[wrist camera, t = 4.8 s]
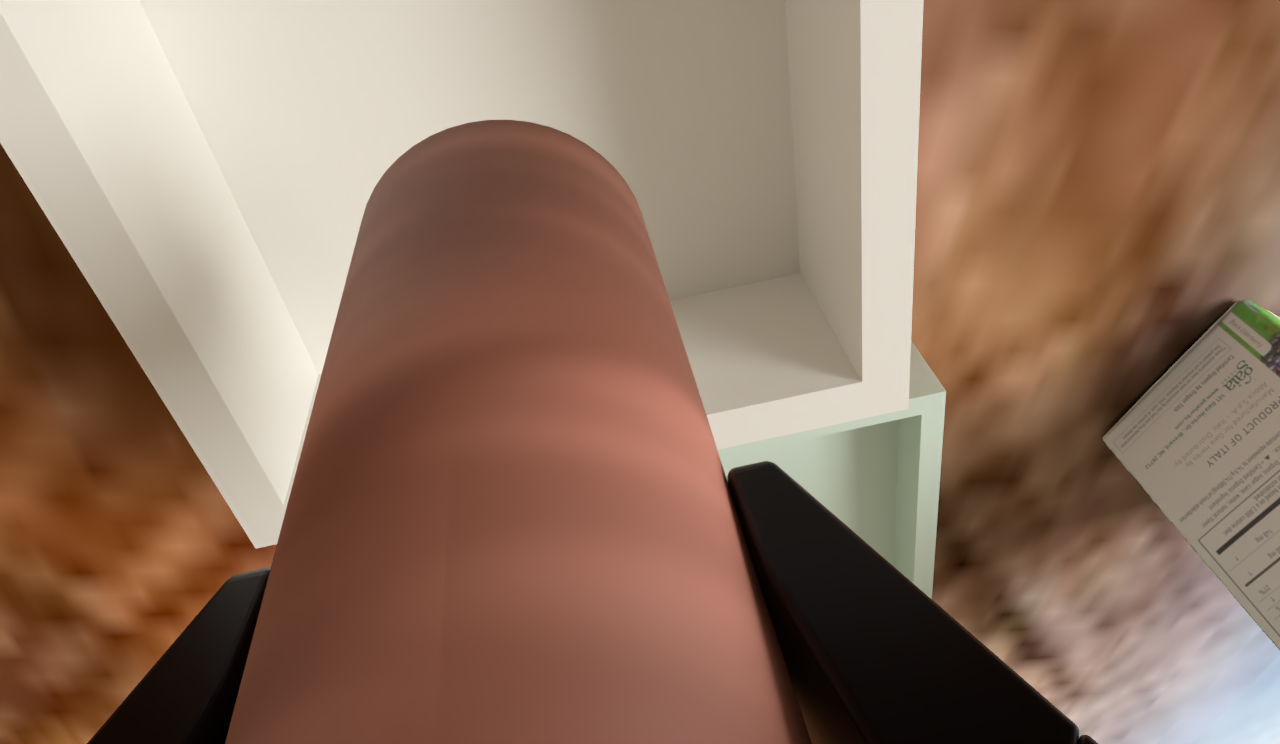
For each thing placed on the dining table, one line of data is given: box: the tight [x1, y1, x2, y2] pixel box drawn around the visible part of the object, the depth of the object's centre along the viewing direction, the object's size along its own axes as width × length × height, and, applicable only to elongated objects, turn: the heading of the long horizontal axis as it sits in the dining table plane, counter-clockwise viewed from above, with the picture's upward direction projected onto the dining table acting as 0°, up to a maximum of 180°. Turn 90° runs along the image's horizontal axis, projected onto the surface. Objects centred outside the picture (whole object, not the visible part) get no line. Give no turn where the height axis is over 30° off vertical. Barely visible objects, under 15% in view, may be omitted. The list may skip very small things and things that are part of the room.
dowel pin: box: [225, 120, 812, 744], centre depth 8 cm, size 4×4×10 cm
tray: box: [718, 341, 946, 599], centre depth 26 cm, size 14×12×2 cm
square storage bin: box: [0, 0, 923, 548], centre depth 16 cm, size 14×14×5 cm
